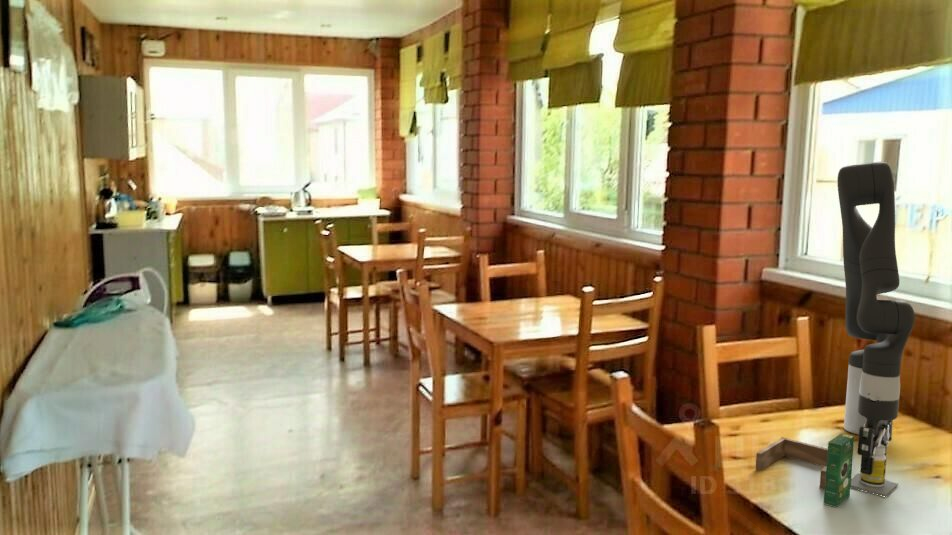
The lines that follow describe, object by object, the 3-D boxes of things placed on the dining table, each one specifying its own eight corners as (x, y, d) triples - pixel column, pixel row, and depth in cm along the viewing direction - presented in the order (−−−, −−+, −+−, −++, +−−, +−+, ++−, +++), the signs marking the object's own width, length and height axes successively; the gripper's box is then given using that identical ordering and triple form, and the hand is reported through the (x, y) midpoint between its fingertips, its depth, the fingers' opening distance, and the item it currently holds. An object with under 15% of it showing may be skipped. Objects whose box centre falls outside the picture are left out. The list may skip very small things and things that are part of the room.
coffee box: (836, 491, 162) (841, 431, 161) (850, 495, 160) (855, 435, 159) (822, 503, 157) (826, 441, 155) (837, 508, 155) (841, 445, 153)
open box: (781, 453, 184) (782, 437, 183) (847, 471, 173) (849, 454, 173) (755, 469, 174) (756, 452, 173) (824, 489, 163) (825, 471, 163)
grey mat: (858, 475, 171) (858, 473, 171) (897, 486, 165) (897, 483, 165) (845, 486, 165) (845, 483, 165) (885, 497, 160) (886, 494, 160)
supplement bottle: (887, 488, 163) (890, 450, 161) (863, 486, 163) (866, 448, 162) (880, 479, 167) (883, 442, 166) (856, 477, 168) (859, 440, 167)
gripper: (871, 383, 170) (865, 454, 172) (848, 397, 160) (842, 472, 162) (908, 390, 165) (902, 463, 167) (887, 405, 155) (881, 482, 157)
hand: (873, 467), depth 165 cm, fingers open, 8 cm apart
